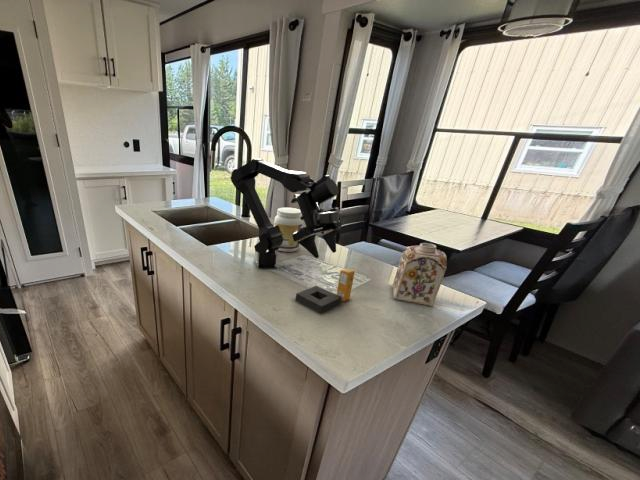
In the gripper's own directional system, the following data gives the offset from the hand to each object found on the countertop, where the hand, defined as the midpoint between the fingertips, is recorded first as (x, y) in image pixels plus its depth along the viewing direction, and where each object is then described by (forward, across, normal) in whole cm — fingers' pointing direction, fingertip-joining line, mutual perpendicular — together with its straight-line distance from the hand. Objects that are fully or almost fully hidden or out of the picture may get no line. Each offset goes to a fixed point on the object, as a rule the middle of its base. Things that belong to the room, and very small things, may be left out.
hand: (326, 255), depth 106 cm
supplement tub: (-11, +20, +36) cm, 42 cm away
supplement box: (+15, 0, 0) cm, 15 cm away
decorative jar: (+23, +21, -10) cm, 33 cm away
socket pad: (+13, -9, +3) cm, 16 cm away
